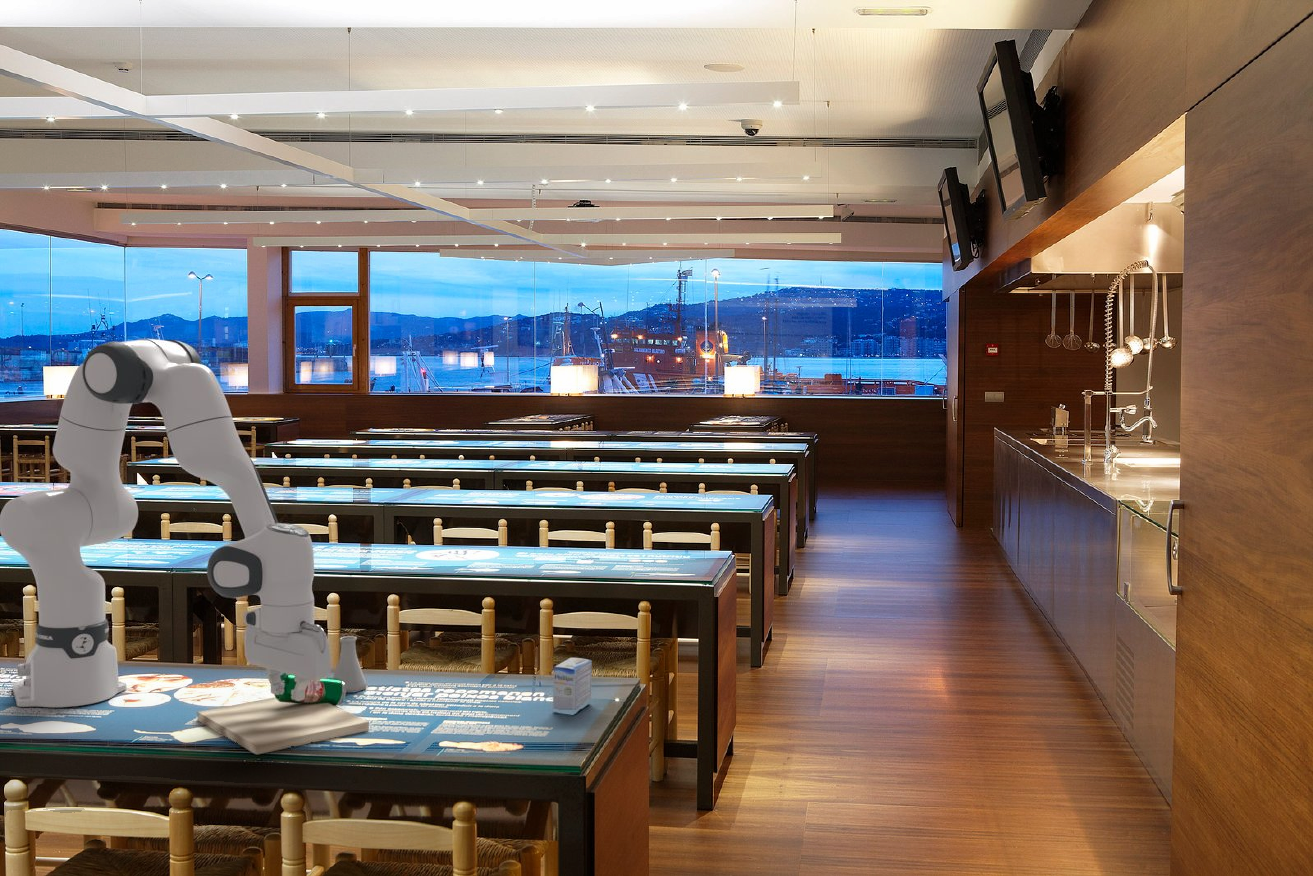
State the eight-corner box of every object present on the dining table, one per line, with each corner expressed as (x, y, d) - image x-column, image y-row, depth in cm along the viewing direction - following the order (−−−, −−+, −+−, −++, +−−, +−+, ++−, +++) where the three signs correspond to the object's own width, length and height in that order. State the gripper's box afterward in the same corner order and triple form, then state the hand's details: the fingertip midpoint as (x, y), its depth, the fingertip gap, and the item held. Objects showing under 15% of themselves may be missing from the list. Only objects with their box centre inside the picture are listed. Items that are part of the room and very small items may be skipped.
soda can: (288, 674, 208) (349, 680, 216) (276, 671, 212) (336, 677, 220) (282, 703, 207) (344, 709, 215) (270, 699, 211) (331, 704, 219)
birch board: (197, 720, 207) (197, 711, 207) (304, 700, 221) (304, 692, 221) (256, 754, 190) (256, 745, 189) (368, 730, 203) (368, 721, 203)
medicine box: (569, 702, 222) (570, 656, 222) (591, 705, 221) (592, 659, 221) (552, 713, 215) (552, 666, 215) (574, 716, 214) (575, 669, 213)
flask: (356, 695, 225) (357, 643, 224) (321, 692, 226) (321, 640, 226) (373, 685, 232) (373, 635, 231) (339, 682, 233) (339, 632, 233)
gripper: (340, 623, 201) (340, 703, 202) (268, 607, 213) (268, 683, 214) (309, 629, 196) (309, 712, 197) (237, 612, 208) (237, 690, 209)
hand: (287, 696), depth 205 cm, fingers open, 4 cm apart
